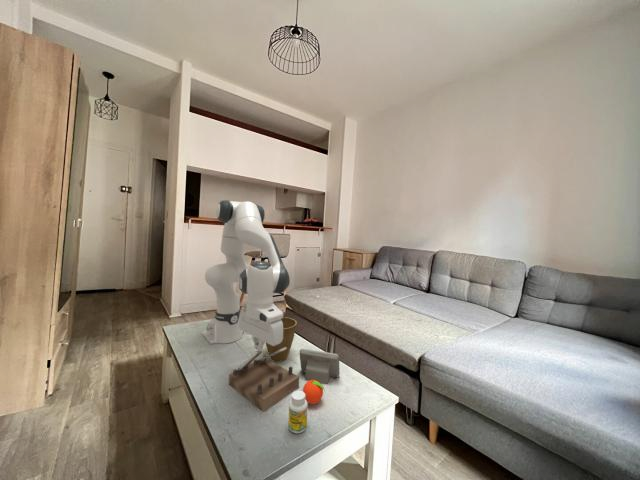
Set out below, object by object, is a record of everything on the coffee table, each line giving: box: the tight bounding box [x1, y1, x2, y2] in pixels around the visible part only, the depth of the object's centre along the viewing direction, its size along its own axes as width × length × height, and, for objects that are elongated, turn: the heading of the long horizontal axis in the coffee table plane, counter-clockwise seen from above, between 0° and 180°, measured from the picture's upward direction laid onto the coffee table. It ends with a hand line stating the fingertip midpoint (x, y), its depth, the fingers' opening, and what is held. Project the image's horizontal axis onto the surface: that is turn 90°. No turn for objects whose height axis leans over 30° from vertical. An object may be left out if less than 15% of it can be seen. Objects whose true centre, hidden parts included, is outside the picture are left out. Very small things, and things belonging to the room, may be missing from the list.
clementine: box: [302, 380, 326, 405], centre depth 82 cm, size 8×7×7 cm
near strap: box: [236, 348, 265, 373], centre depth 87 cm, size 16×3×1 cm
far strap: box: [257, 347, 287, 362], centre depth 93 cm, size 16×3×1 cm
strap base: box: [228, 354, 300, 412], centre depth 89 cm, size 20×16×7 cm
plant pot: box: [264, 316, 297, 363], centre depth 109 cm, size 15×15×16 cm
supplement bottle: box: [288, 390, 308, 434], centre depth 71 cm, size 5×5×10 cm
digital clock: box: [299, 348, 340, 385], centre depth 96 cm, size 16×9×11 cm, turn 65°
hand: (258, 349), depth 84 cm, fingers closed
